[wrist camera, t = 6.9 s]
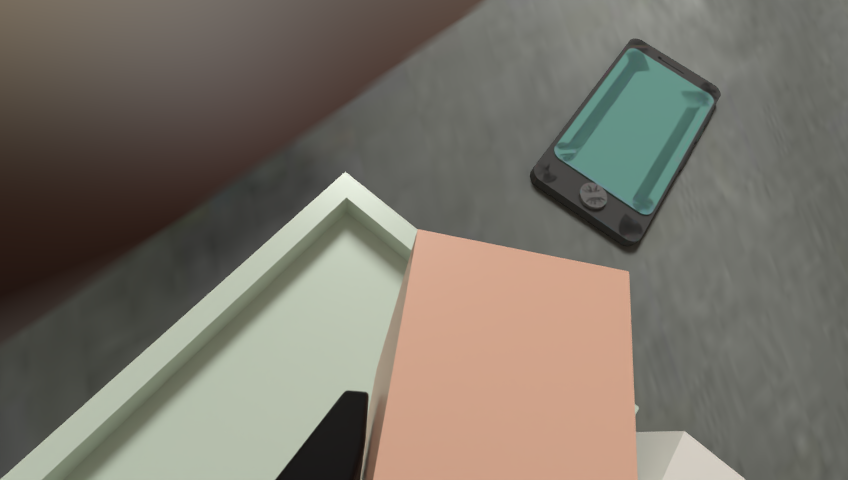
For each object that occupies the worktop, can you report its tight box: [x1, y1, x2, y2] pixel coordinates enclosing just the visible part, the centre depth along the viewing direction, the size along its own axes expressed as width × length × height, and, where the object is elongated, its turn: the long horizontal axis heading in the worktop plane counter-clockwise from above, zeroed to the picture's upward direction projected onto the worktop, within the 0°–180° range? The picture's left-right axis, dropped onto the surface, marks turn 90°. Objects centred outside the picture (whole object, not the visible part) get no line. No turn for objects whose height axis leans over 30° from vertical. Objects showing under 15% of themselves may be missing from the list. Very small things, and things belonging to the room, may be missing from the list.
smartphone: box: [530, 39, 721, 246], centre depth 29 cm, size 7×1×15 cm
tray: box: [0, 172, 639, 480], centre depth 18 cm, size 20×17×2 cm
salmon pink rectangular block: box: [360, 229, 638, 480], centre depth 9 cm, size 5×2×11 cm, turn 171°
